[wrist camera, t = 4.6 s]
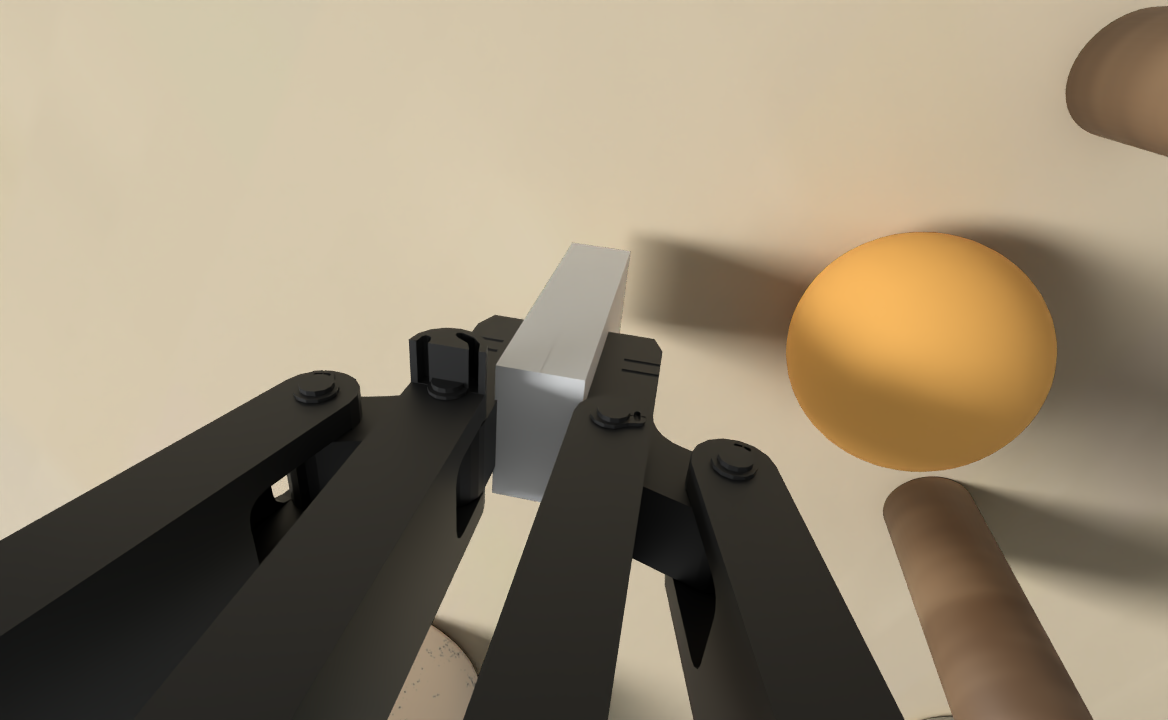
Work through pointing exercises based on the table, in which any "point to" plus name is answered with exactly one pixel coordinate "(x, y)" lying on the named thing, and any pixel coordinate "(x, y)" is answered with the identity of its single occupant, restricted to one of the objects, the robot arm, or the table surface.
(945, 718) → the energy drink
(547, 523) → the robot arm
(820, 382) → the ball
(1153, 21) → the post
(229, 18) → the table surface
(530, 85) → the table surface
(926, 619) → the post
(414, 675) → the teacup with lid
